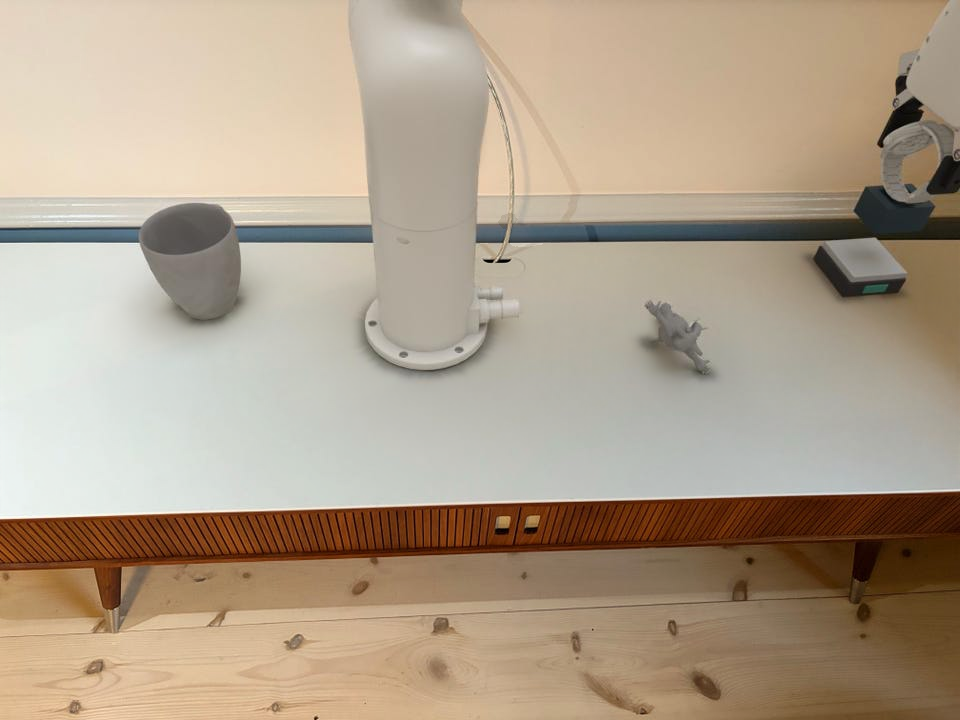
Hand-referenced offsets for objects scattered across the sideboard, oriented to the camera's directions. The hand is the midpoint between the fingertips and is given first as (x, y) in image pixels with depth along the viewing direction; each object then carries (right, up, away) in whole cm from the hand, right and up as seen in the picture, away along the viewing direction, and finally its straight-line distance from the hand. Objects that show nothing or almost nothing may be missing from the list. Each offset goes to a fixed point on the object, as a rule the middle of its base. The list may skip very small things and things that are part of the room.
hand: (915, 167), depth 71 cm
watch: (0, -5, +5) cm, 7 cm away
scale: (-1, -10, +10) cm, 14 cm away
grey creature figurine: (-26, -19, +1) cm, 32 cm away
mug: (-73, -13, +4) cm, 74 cm away
